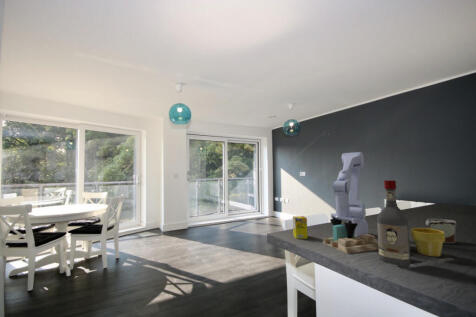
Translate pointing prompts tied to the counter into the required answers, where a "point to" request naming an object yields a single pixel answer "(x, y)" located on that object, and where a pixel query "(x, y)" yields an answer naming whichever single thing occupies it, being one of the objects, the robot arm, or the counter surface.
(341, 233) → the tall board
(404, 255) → the liquor
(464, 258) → the counter surface
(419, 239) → the plant pot
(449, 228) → the food container
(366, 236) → the offcut
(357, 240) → the offcut
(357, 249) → the rack
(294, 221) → the supplement box
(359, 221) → the robot arm
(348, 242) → the offcut
